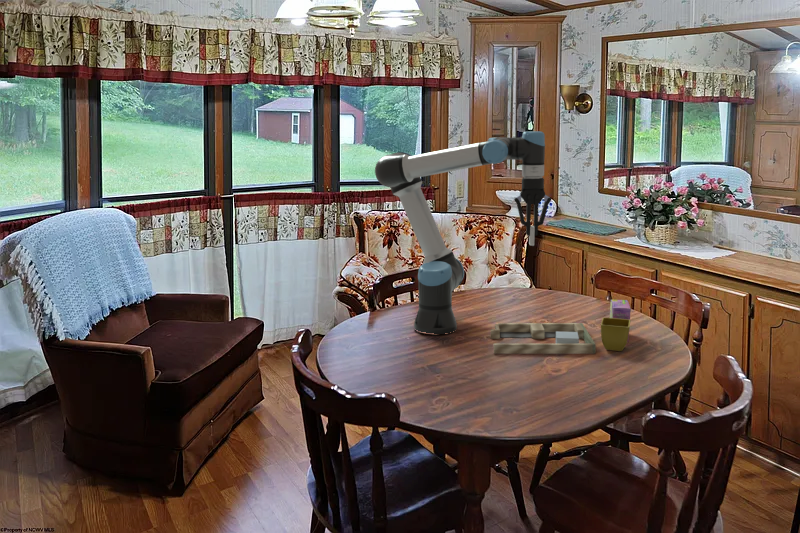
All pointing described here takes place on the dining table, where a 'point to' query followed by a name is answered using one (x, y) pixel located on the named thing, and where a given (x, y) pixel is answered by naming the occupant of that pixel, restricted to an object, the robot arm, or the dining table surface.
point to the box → (620, 310)
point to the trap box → (540, 333)
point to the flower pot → (614, 333)
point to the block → (567, 337)
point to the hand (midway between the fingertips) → (531, 244)
